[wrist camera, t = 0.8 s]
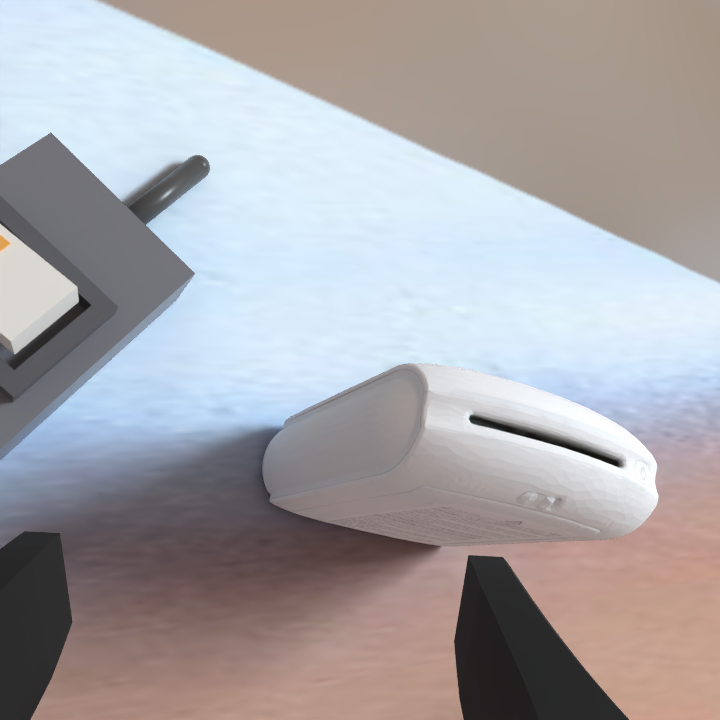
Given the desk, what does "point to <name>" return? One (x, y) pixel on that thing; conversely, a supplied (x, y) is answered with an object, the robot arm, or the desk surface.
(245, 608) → the desk surface
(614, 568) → the desk surface
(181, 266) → the rocker switch panel
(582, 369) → the desk surface
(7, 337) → the rocker
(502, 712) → the robot arm
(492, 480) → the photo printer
